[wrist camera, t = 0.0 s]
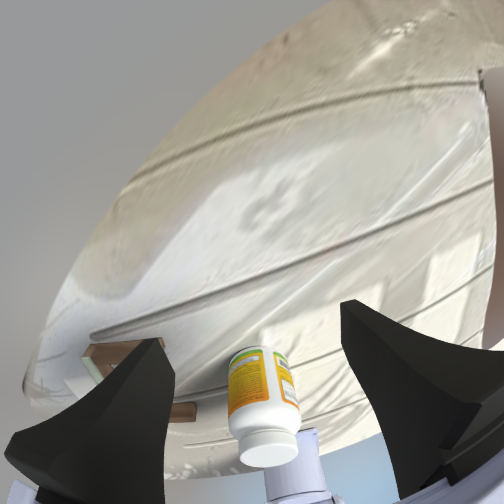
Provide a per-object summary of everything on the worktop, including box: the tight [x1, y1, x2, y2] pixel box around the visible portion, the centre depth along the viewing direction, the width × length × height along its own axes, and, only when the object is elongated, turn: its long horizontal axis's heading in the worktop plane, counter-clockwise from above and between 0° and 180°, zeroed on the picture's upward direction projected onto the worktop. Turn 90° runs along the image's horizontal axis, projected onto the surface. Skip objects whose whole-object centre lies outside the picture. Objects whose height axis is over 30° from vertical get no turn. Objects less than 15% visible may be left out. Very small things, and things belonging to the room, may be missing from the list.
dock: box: [81, 337, 197, 423], centre depth 22 cm, size 10×8×2 cm
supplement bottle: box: [228, 346, 301, 467], centre depth 19 cm, size 5×5×10 cm
